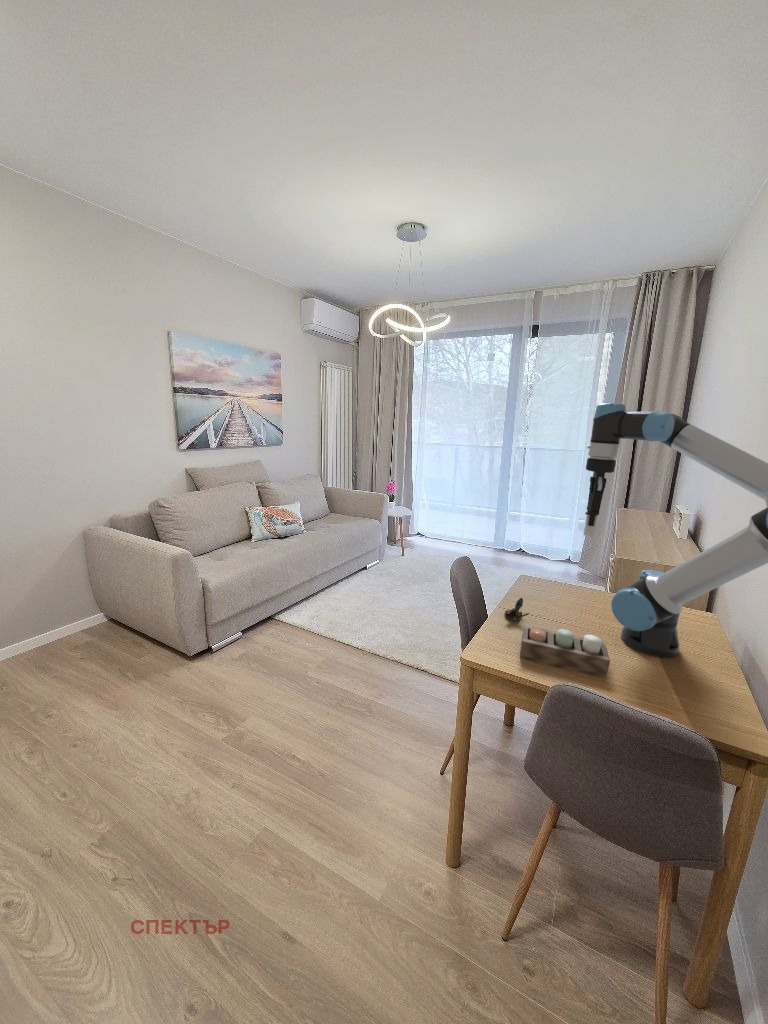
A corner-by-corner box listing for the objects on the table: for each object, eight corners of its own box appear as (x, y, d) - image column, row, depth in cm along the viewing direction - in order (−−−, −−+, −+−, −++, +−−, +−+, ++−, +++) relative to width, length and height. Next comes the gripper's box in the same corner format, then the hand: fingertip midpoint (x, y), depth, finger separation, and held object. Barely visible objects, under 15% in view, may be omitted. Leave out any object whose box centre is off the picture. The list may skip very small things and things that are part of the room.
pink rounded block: (543, 646, 121) (546, 630, 120) (543, 653, 117) (546, 637, 116) (528, 642, 122) (530, 627, 121) (527, 650, 118) (529, 634, 117)
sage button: (570, 647, 118) (573, 631, 117) (571, 654, 114) (574, 638, 113) (554, 643, 120) (556, 627, 119) (554, 651, 116) (557, 635, 115)
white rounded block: (597, 652, 116) (600, 636, 115) (599, 661, 112) (602, 644, 111) (580, 649, 117) (583, 633, 116) (581, 657, 113) (584, 640, 112)
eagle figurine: (533, 622, 136) (527, 605, 144) (525, 606, 134) (518, 590, 142) (512, 630, 138) (506, 613, 146) (503, 615, 136) (498, 598, 144)
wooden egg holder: (601, 659, 119) (604, 641, 117) (606, 678, 109) (610, 660, 108) (521, 641, 126) (523, 624, 125) (519, 658, 117) (522, 641, 116)
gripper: (585, 455, 128) (573, 528, 133) (589, 458, 116) (576, 538, 122) (612, 457, 125) (599, 531, 131) (620, 461, 114) (605, 542, 119)
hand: (588, 535), depth 126 cm, fingers closed
